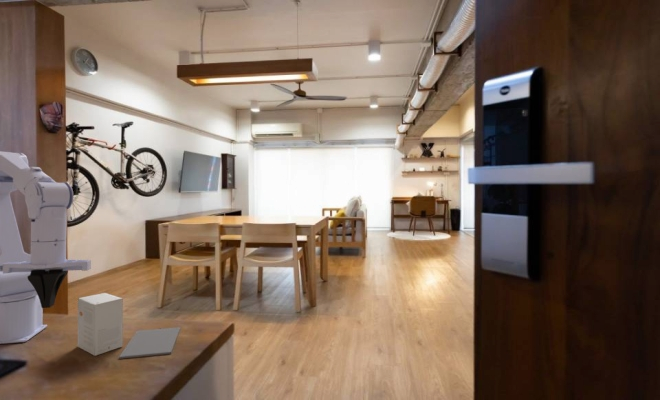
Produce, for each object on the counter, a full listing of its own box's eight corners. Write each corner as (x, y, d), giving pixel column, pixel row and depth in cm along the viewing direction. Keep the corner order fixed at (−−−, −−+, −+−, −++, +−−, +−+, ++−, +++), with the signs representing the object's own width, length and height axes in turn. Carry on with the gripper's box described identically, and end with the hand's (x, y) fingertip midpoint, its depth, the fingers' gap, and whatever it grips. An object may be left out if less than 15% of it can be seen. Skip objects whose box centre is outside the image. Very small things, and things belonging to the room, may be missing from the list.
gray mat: (137, 332, 82) (137, 330, 82) (180, 328, 85) (180, 327, 85) (119, 358, 69) (119, 356, 69) (171, 353, 72) (171, 351, 72)
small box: (123, 347, 74) (124, 298, 74) (94, 356, 70) (94, 304, 70) (105, 338, 79) (106, 292, 79) (76, 346, 74) (77, 297, 74)
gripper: (-8, 243, 66) (-9, 315, 66) (81, 242, 70) (80, 309, 70) (15, 239, 72) (14, 304, 72) (95, 238, 76) (94, 299, 76)
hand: (48, 306), depth 71 cm, fingers closed
